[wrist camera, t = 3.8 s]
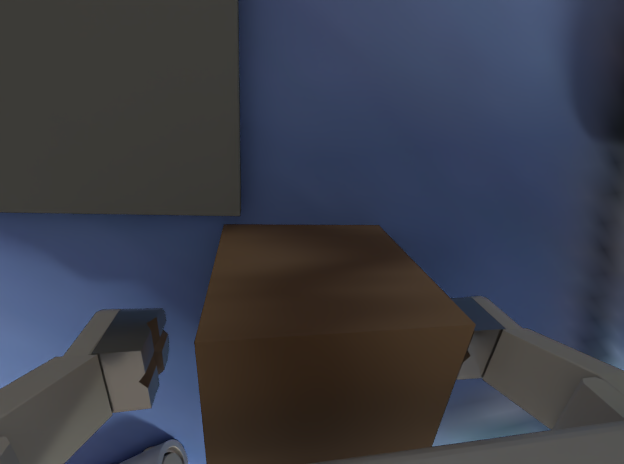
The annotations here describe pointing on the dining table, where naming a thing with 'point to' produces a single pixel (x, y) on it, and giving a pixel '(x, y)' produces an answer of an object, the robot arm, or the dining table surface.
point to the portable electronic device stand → (161, 454)
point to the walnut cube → (322, 346)
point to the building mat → (120, 107)
